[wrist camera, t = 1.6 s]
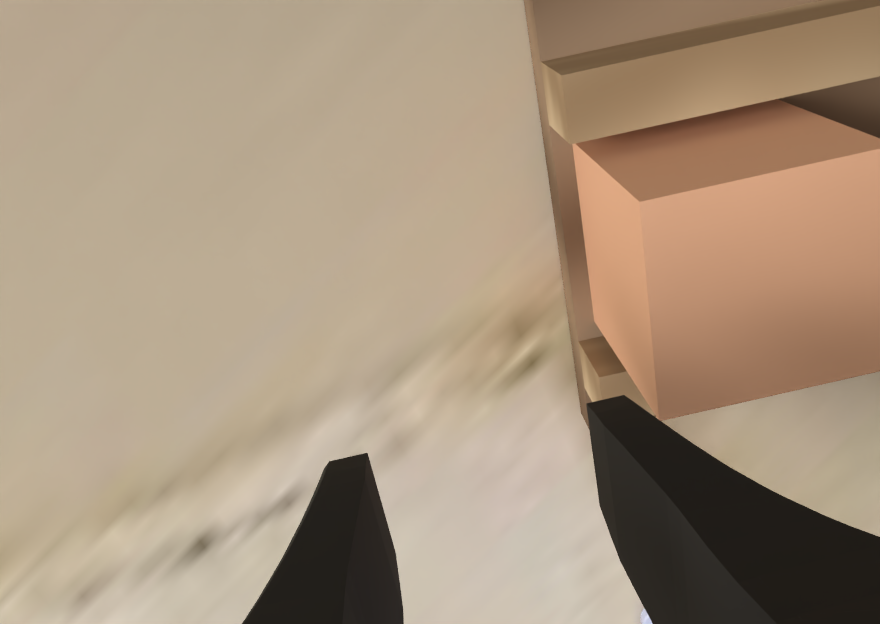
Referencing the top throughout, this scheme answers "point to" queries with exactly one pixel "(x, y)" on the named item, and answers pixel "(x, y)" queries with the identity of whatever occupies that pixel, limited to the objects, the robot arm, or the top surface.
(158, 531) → the top surface
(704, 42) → the chute
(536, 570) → the top surface
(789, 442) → the top surface
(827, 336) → the block
